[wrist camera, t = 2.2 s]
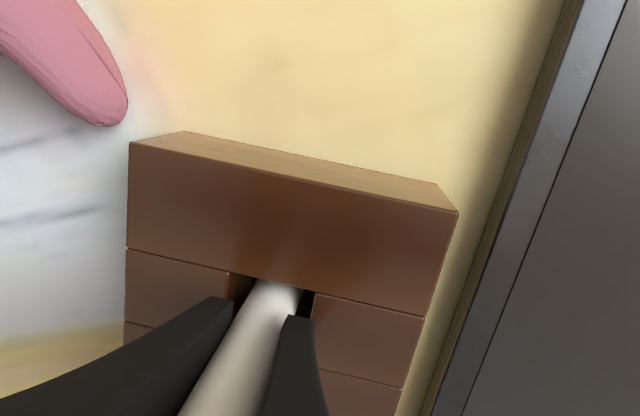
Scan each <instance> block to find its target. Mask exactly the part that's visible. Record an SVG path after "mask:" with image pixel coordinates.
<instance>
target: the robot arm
mask: <svg viewBox="0 0 640 416" xmlns="http://www.w3.org/2000/svg"><path fill="white" fill-rule="evenodd" d="M233 303H234V301H231V300H227V299H223V298H219V297H214V296H210V297H208V298H206V299H205V300H203V301H201V302H199V303H198V304H196V305H194V306H193V307H191V308H189V309H188V310H186V311H184V312H183V313H181V314H179V315H178V316H176V317H174V318H173V319H171V320H169V321H168V322H166V323H164V324H163V325H161V326H159V327H157V328H156V329H154V330H152V331H150V332H149V333H147V334H145V335H143V336H141V337H140V338H138V339H136V340H134V341H132V342H130V343H128V344H126V345H124V346H122V347H120V348H118V349H116V350H114V351H113V352H111V353H109V354H107V355H105V356H103V357H101V358H99V359H97V360H95V361H92V362H90V363H88V364H86V365H84V366H82V367H79V368H77V369H75V370H73V371H70V372H68V373H65V374H63V375H61V376H58V377H56V378H54V379H51V380H49V381H47V382H44V383H42V384H39V385H37V386H34V387H31V388H29V389H26V390H23V391H20V392H18V393H15V394H12V395H9V396H7V397H4V398H1V399H0V416H177V415H178V413H179V412H180V410H181V408H182V406H183V405H184V403H185V401H186V400H187V398H188V396H189V395H190V393H191V391H192V390H193V388H194V386H195V385H196V383H197V381H198V380H199V378H200V376H201V374H202V373H203V371H204V369H205V368H206V366H207V364H208V363H209V361H210V359H211V358H212V356H213V354H214V353H215V351H216V349H217V347H218V346H219V344H220V342H221V341H222V339H223V337H224V336H225V334H226V332H227V331H228V329H229V327H230V326H231V318H232V311H233ZM314 328H315V324H314V322H313V321H312V319H307V318H303V317H299V316H295V315H290V314H288V315H287V317H286V319H285V321H284V324H283V326H282V328H281V331H280V336H279V340H278V345H277V349H276V354H275V358H274V362H273V367H272V371H271V376H270V380H269V385H268V389H267V393H266V397H265V400H264V404H263V407H262V410H261V412H260V415H259V416H330V415H329V412H328V408H327V405H326V401H325V397H324V393H323V389H322V384H321V380H320V375H319V370H318V365H317V359H316V351H315V341H314Z"/></svg>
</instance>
